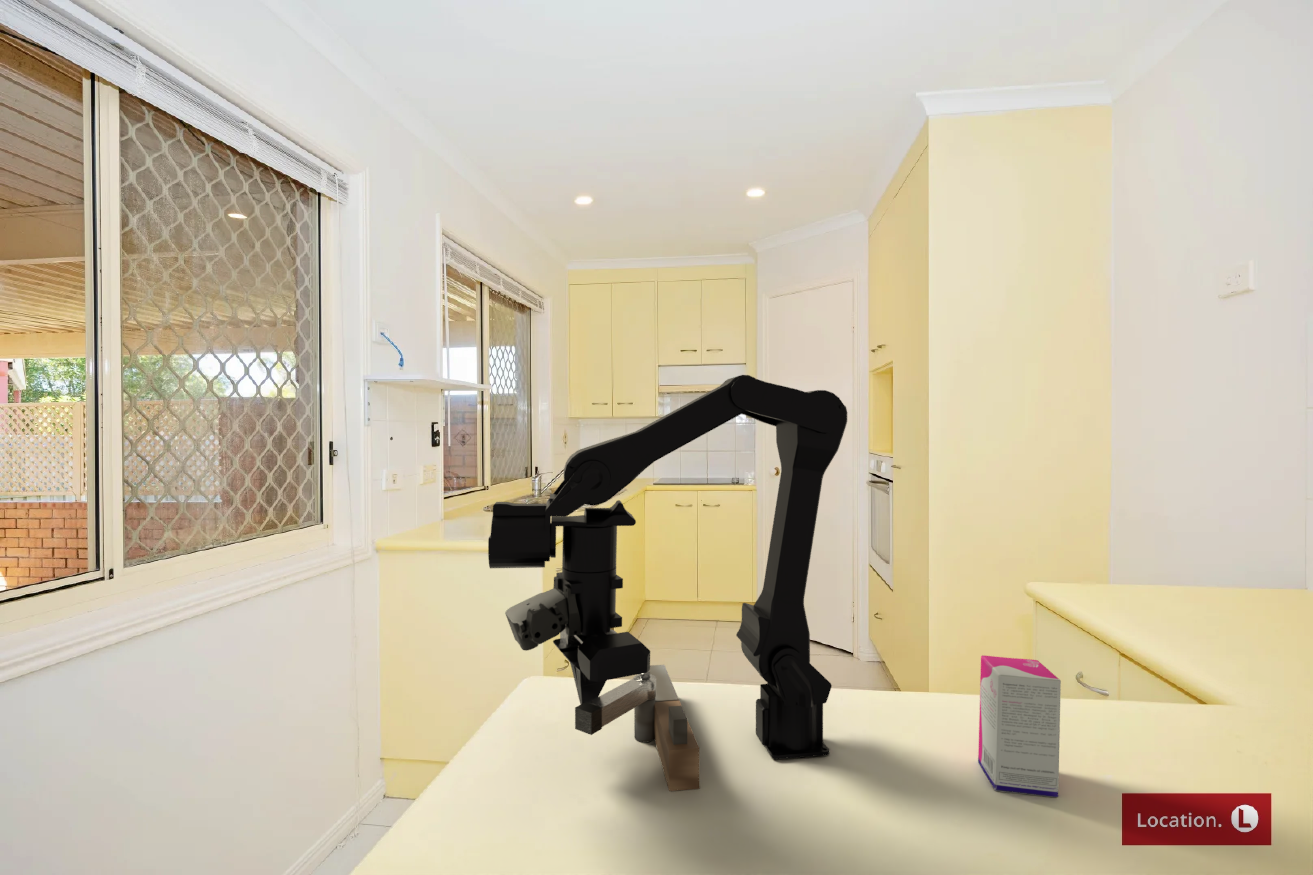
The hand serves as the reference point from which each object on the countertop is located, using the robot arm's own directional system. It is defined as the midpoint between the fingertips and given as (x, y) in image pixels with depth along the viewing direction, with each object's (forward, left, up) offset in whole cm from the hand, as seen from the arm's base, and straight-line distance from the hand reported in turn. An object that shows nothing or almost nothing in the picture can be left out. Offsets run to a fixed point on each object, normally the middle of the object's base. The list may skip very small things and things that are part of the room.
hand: (586, 710), depth 67 cm
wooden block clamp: (-8, -4, -5) cm, 10 cm away
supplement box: (-43, +10, -5) cm, 44 cm away
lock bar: (-4, 0, 0) cm, 4 cm away
